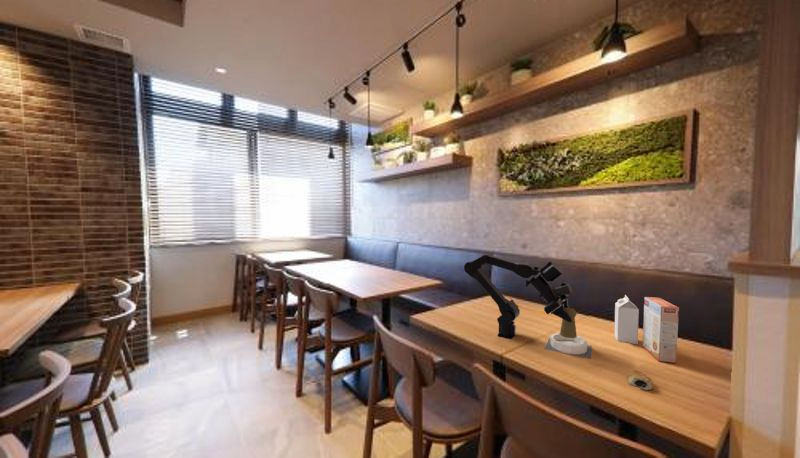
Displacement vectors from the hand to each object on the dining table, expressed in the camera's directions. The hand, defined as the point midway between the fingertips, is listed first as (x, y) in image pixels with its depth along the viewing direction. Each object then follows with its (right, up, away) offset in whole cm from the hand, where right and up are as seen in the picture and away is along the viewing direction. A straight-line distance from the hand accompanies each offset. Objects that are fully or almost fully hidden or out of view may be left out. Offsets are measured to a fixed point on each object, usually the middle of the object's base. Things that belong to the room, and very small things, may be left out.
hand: (572, 319), depth 129 cm
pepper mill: (-1, -7, +1) cm, 7 cm away
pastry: (+8, -14, -25) cm, 30 cm away
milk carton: (+28, -12, +9) cm, 32 cm away
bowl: (-1, -12, +1) cm, 12 cm away
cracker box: (+31, -12, -4) cm, 34 cm away
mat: (-1, -12, +1) cm, 12 cm away
